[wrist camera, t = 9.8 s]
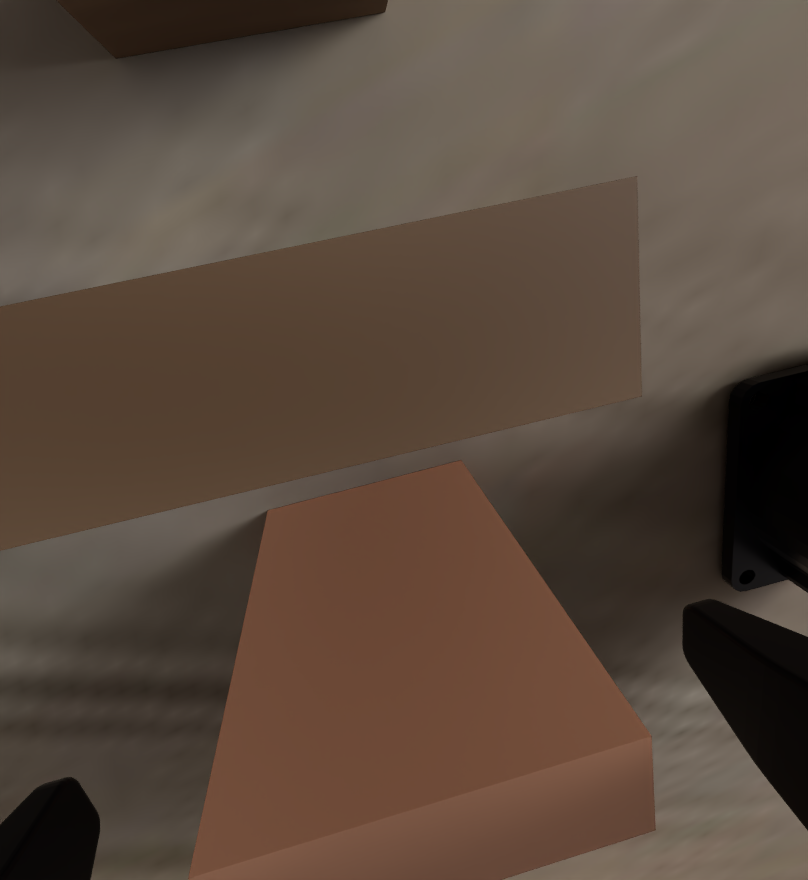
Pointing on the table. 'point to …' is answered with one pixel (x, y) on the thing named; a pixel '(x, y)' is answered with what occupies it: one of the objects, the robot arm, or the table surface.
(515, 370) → the domino
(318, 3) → the domino
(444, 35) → the table surface
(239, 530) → the table surface
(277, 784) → the domino
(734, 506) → the robot arm
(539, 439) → the table surface
